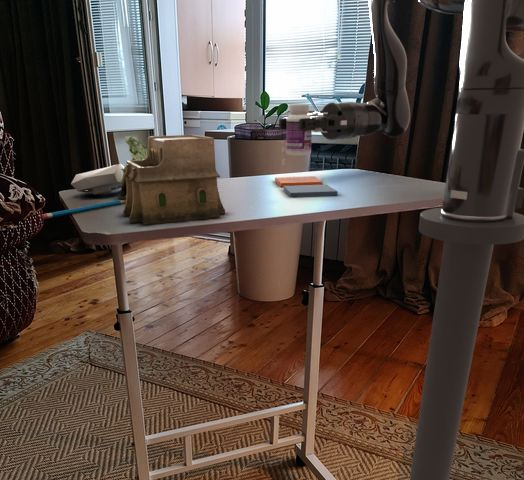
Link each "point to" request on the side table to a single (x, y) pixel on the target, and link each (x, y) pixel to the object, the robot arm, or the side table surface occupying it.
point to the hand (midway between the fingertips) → (290, 124)
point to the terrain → (136, 148)
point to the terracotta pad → (298, 181)
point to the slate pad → (310, 190)
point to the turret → (99, 180)
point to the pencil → (82, 209)
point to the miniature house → (173, 181)
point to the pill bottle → (298, 131)
